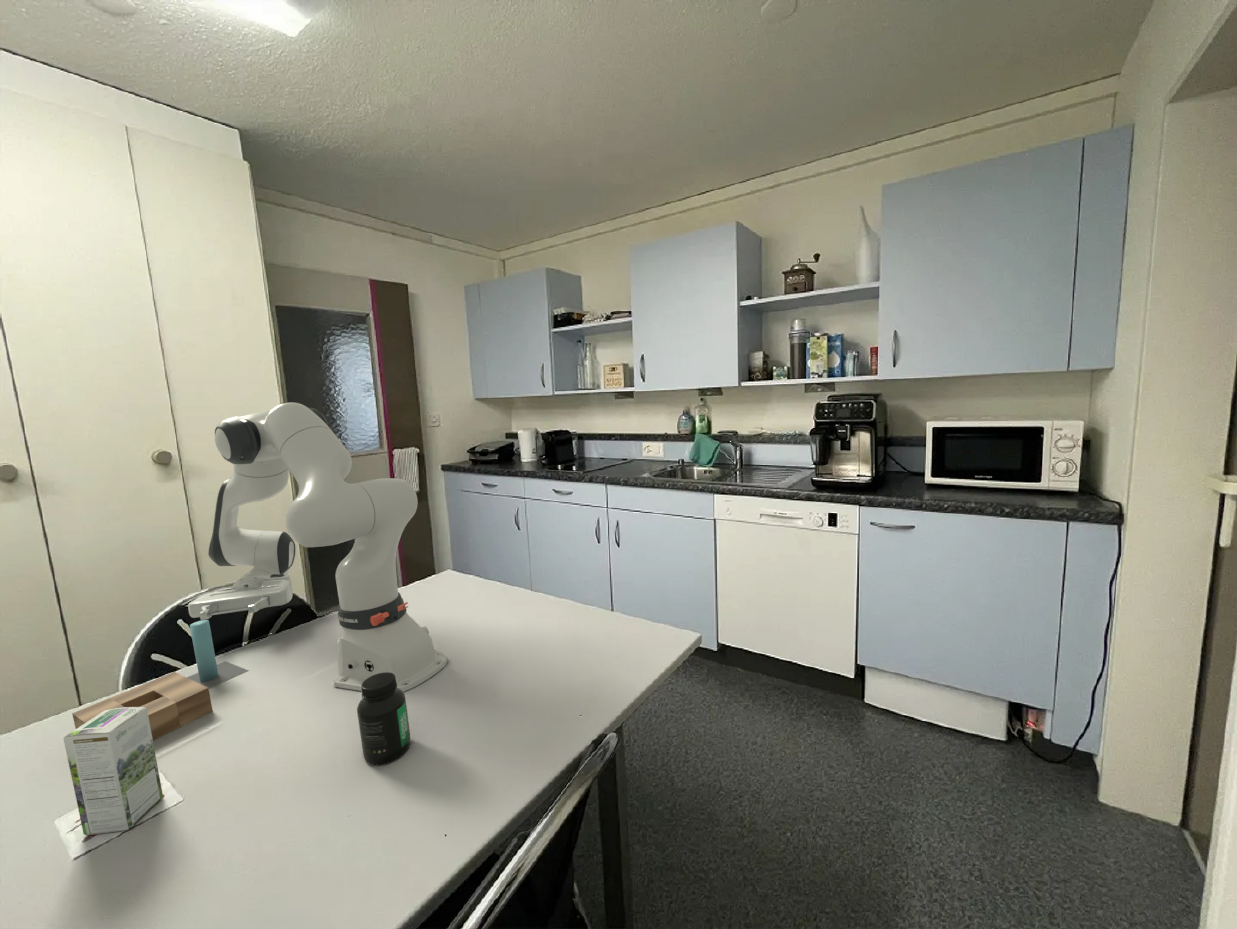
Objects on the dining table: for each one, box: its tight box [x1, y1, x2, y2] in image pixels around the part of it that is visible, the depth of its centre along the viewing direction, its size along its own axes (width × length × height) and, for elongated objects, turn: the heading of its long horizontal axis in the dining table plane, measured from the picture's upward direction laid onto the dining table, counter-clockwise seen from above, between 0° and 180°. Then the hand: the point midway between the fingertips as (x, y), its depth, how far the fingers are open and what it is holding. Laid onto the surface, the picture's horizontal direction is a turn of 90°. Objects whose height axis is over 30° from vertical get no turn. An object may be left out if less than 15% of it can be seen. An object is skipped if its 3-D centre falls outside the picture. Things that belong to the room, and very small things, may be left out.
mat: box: [186, 660, 250, 689], centre depth 103 cm, size 10×10×1 cm
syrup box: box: [63, 707, 164, 836], centre depth 67 cm, size 6×6×14 cm
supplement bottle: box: [356, 672, 412, 766], centre depth 77 cm, size 7×7×12 cm
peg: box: [189, 619, 218, 682], centre depth 102 cm, size 3×3×12 cm
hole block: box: [72, 671, 214, 741], centre depth 88 cm, size 14×14×5 cm
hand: (228, 612), depth 113 cm, fingers open, 8 cm apart
